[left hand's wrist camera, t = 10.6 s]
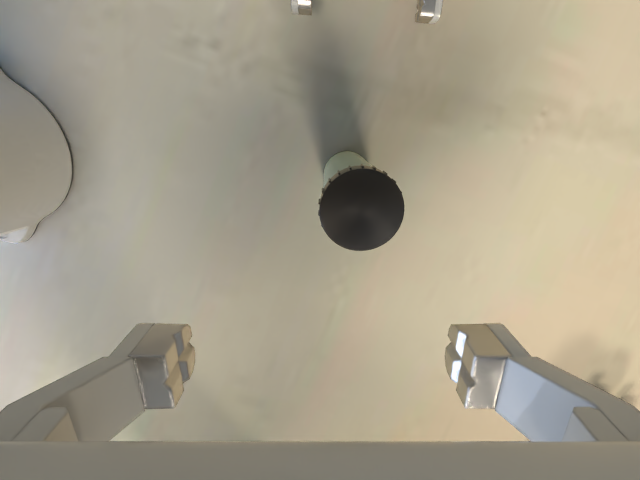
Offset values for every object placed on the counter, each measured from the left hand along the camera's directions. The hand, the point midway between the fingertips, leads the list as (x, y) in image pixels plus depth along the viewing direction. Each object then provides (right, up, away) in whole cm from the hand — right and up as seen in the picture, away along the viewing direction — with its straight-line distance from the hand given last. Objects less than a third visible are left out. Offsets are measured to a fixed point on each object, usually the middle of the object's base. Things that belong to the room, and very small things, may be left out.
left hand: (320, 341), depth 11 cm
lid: (+2, +5, +10) cm, 11 cm away
